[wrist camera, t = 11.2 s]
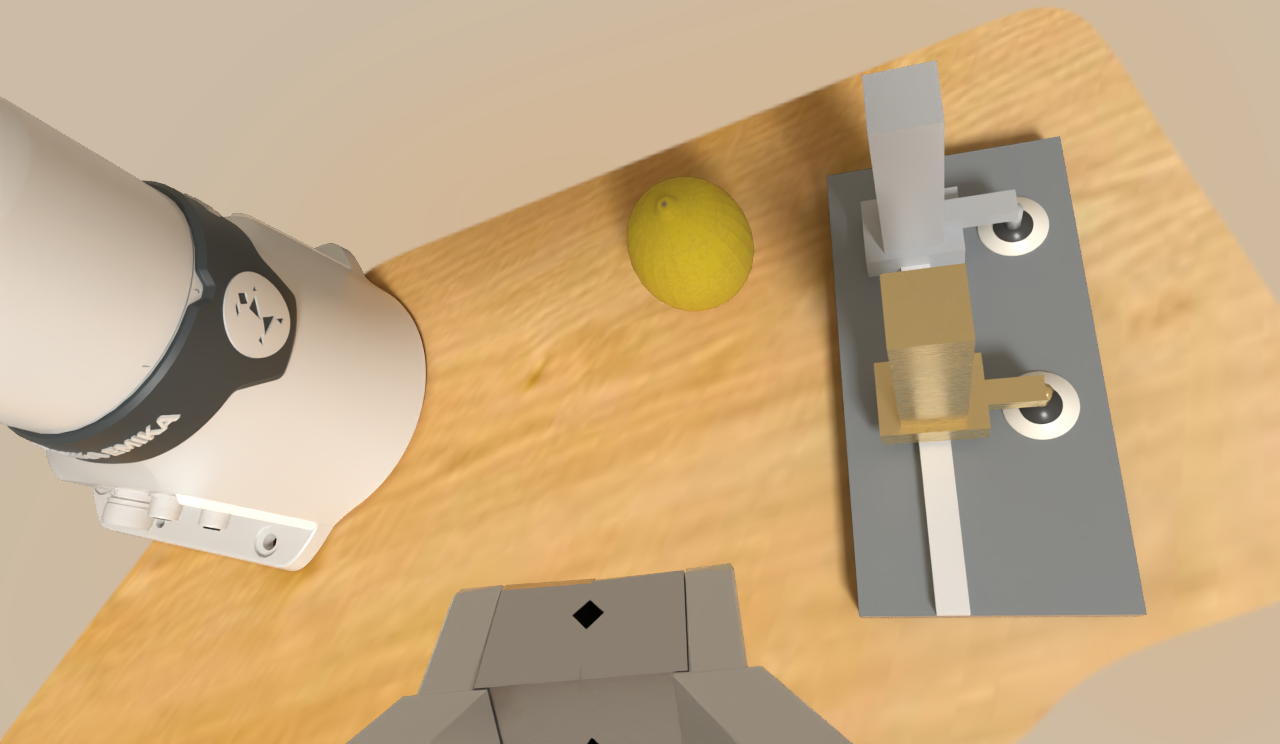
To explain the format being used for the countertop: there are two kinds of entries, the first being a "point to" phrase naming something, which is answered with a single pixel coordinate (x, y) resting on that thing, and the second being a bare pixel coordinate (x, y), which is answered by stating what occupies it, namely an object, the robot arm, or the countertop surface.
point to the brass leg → (939, 363)
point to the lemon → (690, 244)
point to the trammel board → (1010, 347)
